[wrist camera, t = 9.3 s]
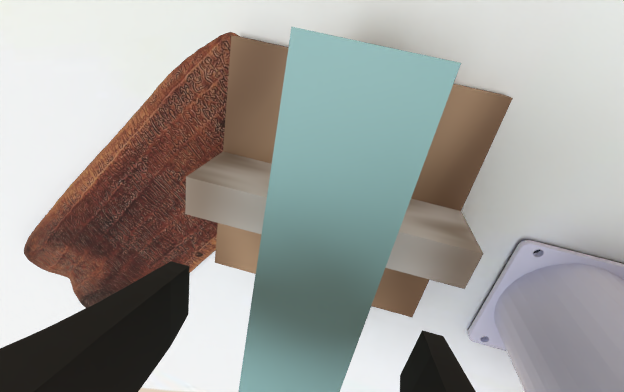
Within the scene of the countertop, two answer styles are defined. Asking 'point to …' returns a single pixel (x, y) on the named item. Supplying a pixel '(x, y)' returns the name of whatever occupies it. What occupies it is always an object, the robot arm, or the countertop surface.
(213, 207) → the ridge
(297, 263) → the teal rectangular bar
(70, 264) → the wooden tablet
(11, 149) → the countertop surface
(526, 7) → the countertop surface
